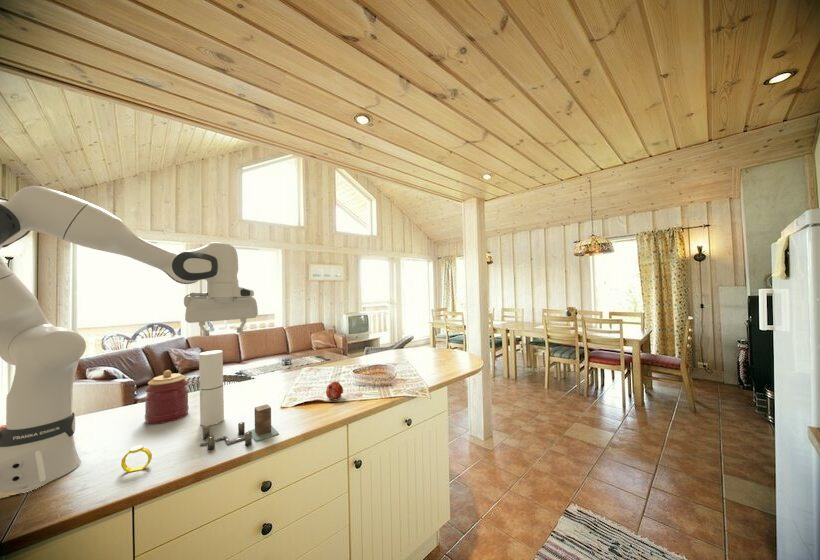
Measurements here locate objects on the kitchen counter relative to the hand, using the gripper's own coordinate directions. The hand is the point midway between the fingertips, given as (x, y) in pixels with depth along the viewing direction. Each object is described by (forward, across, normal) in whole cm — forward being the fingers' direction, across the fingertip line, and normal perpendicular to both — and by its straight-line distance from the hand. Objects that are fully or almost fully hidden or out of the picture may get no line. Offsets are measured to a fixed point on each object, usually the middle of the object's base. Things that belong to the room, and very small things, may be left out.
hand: (223, 334), depth 99 cm
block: (+33, +10, -7) cm, 35 cm away
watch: (+33, -21, -5) cm, 40 cm away
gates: (+33, 0, -4) cm, 33 cm away
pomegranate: (+33, +42, +5) cm, 54 cm away
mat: (+33, +10, -7) cm, 35 cm away
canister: (+33, -13, +33) cm, 49 cm away
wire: (+33, 0, -4) cm, 33 cm away
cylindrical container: (+33, -1, +16) cm, 37 cm away
